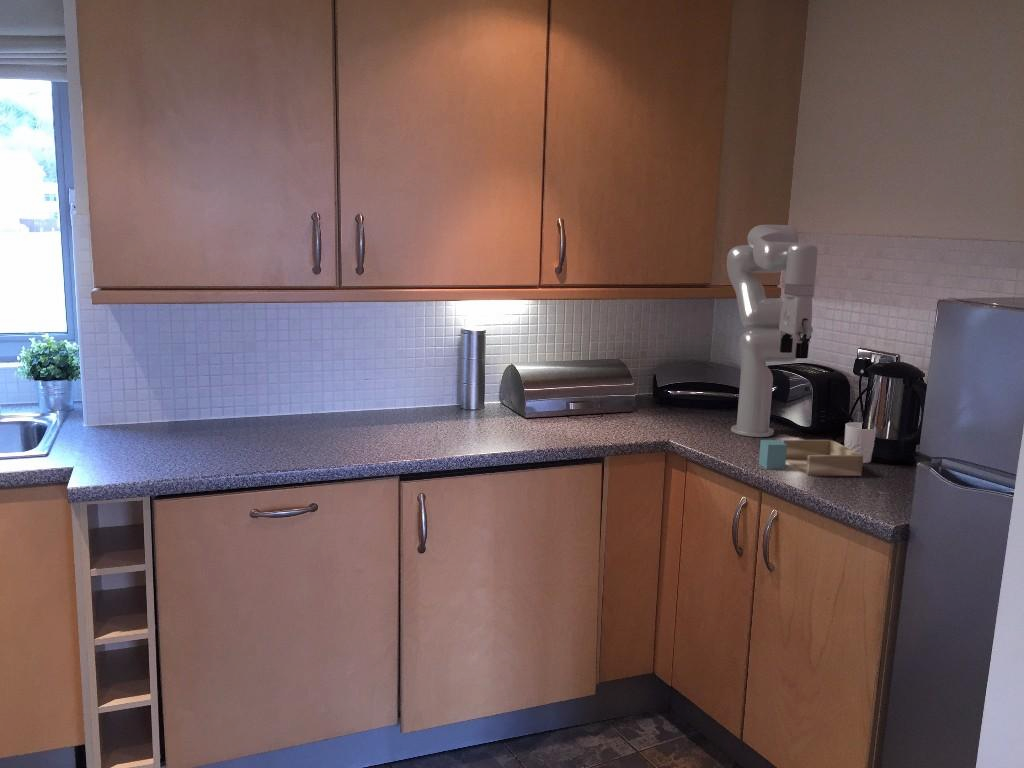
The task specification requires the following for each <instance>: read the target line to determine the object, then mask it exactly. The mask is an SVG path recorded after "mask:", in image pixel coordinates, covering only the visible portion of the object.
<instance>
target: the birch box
mask: <svg viewBox="0 0 1024 768" xmlns="http://www.w3.org/2000/svg"><path fill="white" fill-rule="evenodd" d="M781 441H782V442H783V443H785V444H787V451H786V462H785V463H787V464H789V465H790V466H793V467H794V468H795V469H797V470H798V471H800V472H801V473H803V474H805V475H806V476H808V477H810V476H811V477H812V476H814V477H817V476H818V477H827V476H828V477H830V476H831V477H833V476H835V477H836V476H837V477H838V476H845V477H847V476H848V477H849V476H851V477H854V476H860V477H861V476H862V473H863V465H864V463H863V456H862V455H860V454H858V453H856V452H854V451H852V450H850V449H849V448H847V447H845V446H844V445H843V444H841V443H839V442H837V441H835V440H834V439H781Z"/></svg>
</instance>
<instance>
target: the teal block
mask: <svg viewBox="0 0 1024 768" xmlns="http://www.w3.org/2000/svg"><path fill="white" fill-rule="evenodd" d="M759 445H760V446H759V456H758V457H759V459H758V464H759V465H760V467H763V468H764V469H765V470H785V469H786V463H787V462H786V451H787V444H785V443H783V442H782V440H780V439H760V444H759Z"/></svg>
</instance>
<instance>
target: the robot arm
mask: <svg viewBox="0 0 1024 768" xmlns="http://www.w3.org/2000/svg"><path fill="white" fill-rule="evenodd" d="M799 237H800V235H799V233H798V231H797V229H796V228H795V227H794V226H792V225H789V224H759V225H756V226H754V227H753V228H751V230H749V232H748V234H747V238H746V239H747V244H742V245H736V246H734V247H732V248H731V249H730V250H729V251H728V252H727V255H726V256H727V257H726V270H727V275H728V278H729V281H730V284H731V285H732V287H733V290H734V292H735V295H736V302H737V307H738V312H739V313H738V314H739V319H740V323H741V325H742V327H743V328H744V329H745V330H746V331H745V332H744V333H742V335H741V337H740V339H739V351H740V380H739V390H738V391H739V393H738V403H737V404H738V405H737V418H736V424H733V425H731V428H730V431H731V432H732V433H733V434H736V435H739V436H740V435H741V436H744V437H745V436H746V437H751V438H766V437H768V438H769V437H771V436H773V435H774V433H775V430H774V428H771V427H770V421H771V420H770V418H771V408H772V407H771V406H772V395H773V385H774V384H773V383H774V376H773V373H772V371H771V369H770V368H769V366H768V365H767V363H768V362H769V363H770V362H771V363H773V362H774V363H775V362H776V363H777V362H780V363H781V362H782V363H788V362H794V361H796V360H797V359H808V357H809V348H810V347H809V345H810V344H811V338H812V334H813V332H814V331H813V329H814V328H813V327H812V322H813V321H812V320H813V298H815V297H814V295H815V288H816V275H817V266H818V253H819V249H818V246H816V245H815V244H811V243H807V242H800V238H799ZM783 271H785V281H784V291H783V299H782V300H777V299H768V298H767V296H766V293H765V292H766V291H765V288H764V286H763V284H762V283H761V281H760V280H758V279H757V278H756V277H755V276H754V275H752V273H757V274H778V273H781V272H783Z"/></svg>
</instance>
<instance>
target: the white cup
mask: <svg viewBox="0 0 1024 768" xmlns="http://www.w3.org/2000/svg"><path fill="white" fill-rule="evenodd" d="M862 423H863V422H857V421H852V422H847V423H845V424H844V425H845V427H844V442H843V443H844V445H843V446H845V447H847V448H849V449H850V450H852V451H854V452H856V453H858V454H860V455H862V456H863V464H868V463H871V461H872V458H873V457H872V456H873V455H872V454H873V451H874V447H875V442H874V441H875V440H876V435H877V429H876V428H874V429H862ZM875 434H876V435H875Z"/></svg>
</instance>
